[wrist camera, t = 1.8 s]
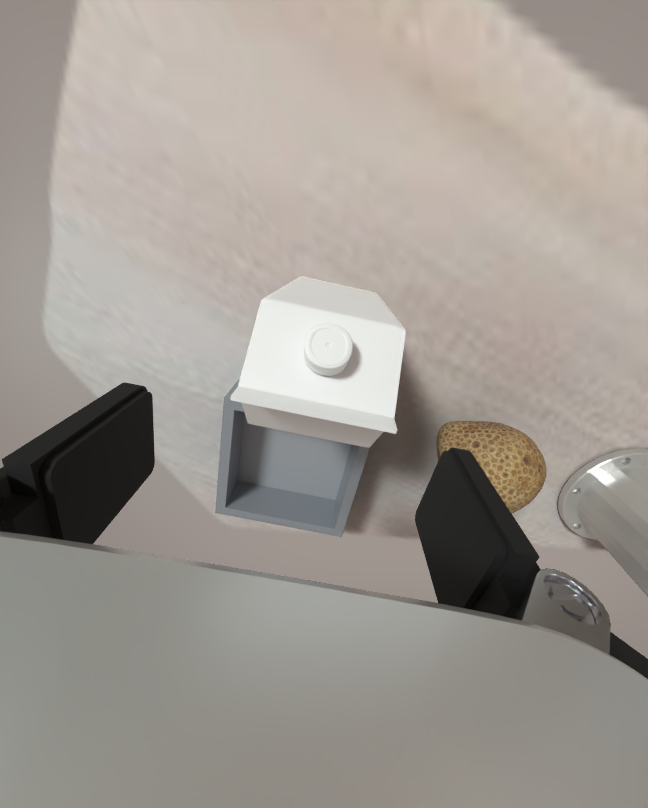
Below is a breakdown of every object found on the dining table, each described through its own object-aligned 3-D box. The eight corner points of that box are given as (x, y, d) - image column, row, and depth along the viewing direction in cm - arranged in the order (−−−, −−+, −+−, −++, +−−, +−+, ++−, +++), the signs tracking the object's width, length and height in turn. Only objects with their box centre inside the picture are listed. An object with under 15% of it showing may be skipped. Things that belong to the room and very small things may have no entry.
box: (371, 405, 34) (375, 429, 30) (341, 504, 40) (341, 537, 36) (240, 378, 34) (224, 397, 29) (230, 482, 40) (215, 512, 35)
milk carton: (358, 365, 32) (375, 496, 15) (288, 350, 32) (224, 466, 15) (377, 292, 29) (425, 351, 12) (300, 275, 29) (236, 311, 12)
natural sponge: (495, 475, 37) (544, 547, 28) (417, 468, 37) (441, 538, 28) (521, 403, 33) (588, 461, 24) (433, 397, 33) (467, 451, 24)
